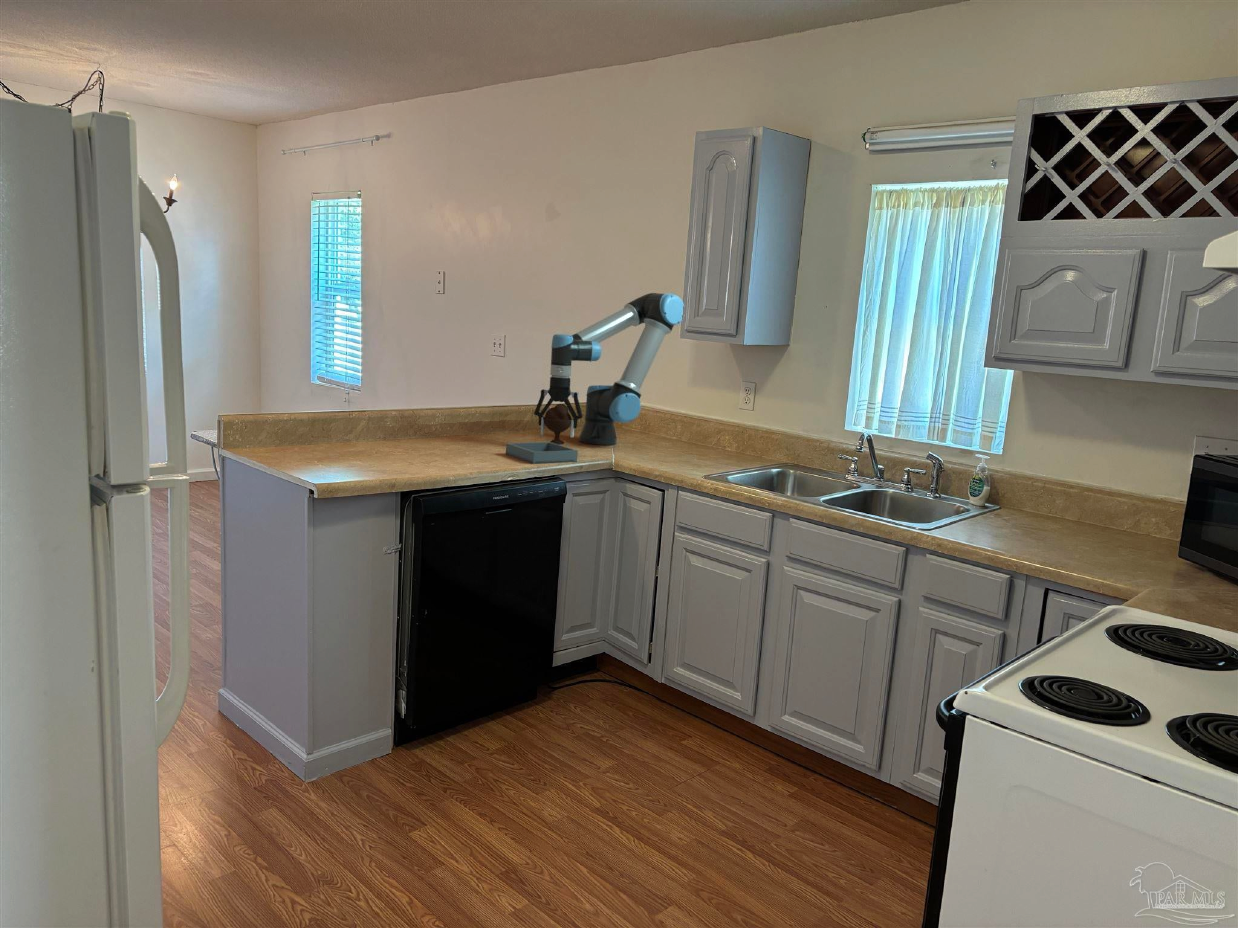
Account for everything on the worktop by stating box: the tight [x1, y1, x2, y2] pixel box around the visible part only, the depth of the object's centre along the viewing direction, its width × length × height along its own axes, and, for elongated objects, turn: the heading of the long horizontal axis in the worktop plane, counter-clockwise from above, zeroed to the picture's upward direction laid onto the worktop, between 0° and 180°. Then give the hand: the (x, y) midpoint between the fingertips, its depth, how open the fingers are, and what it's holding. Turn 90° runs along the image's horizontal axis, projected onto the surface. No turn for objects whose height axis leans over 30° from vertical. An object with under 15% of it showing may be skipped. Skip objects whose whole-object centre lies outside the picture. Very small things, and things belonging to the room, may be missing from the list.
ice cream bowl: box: [543, 403, 573, 446], centre depth 328 cm, size 11×11×15 cm
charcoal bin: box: [505, 441, 579, 465], centre depth 307 cm, size 18×18×4 cm
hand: (557, 435), depth 328 cm, fingers closed on ice cream bowl, 11 cm apart
